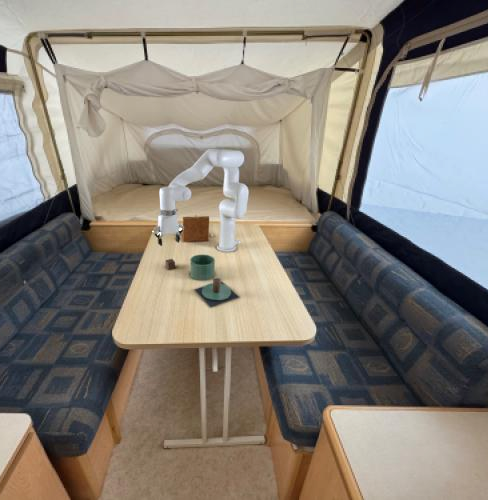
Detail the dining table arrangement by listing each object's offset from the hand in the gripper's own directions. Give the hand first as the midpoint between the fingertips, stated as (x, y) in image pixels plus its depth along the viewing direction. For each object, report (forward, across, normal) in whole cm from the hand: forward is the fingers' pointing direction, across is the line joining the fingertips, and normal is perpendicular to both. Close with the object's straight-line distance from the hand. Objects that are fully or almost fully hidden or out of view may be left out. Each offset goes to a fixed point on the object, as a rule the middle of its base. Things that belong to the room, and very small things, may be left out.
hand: (169, 243), depth 141 cm
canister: (+14, -12, +14) cm, 24 cm away
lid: (+14, -9, +34) cm, 37 cm away
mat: (+15, -9, +34) cm, 38 cm away
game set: (+14, -33, -32) cm, 48 cm away
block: (+15, 0, -1) cm, 15 cm away
